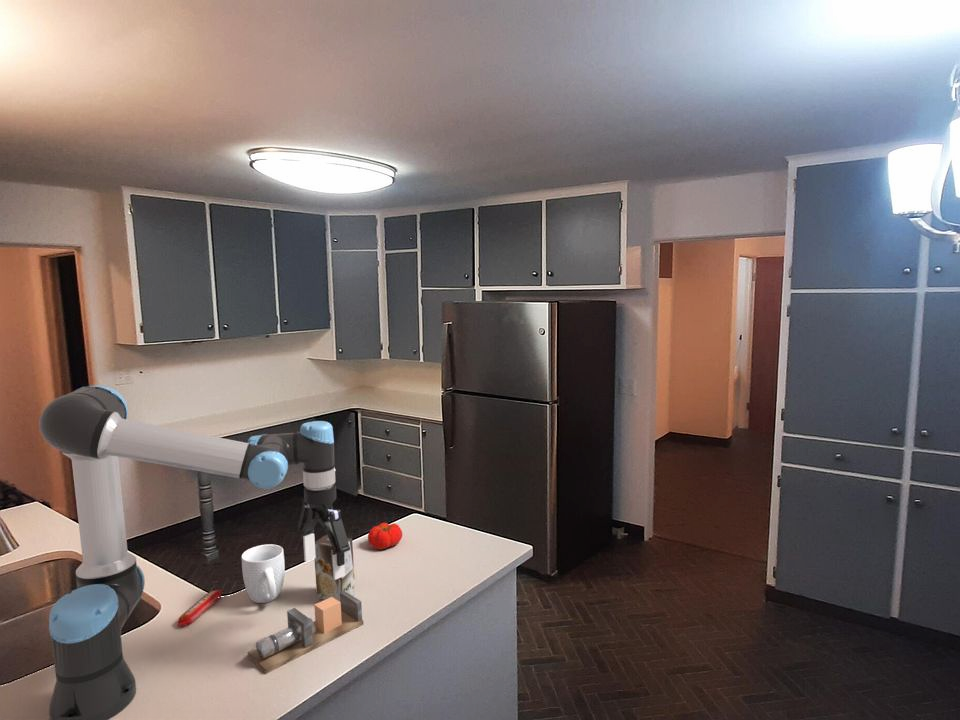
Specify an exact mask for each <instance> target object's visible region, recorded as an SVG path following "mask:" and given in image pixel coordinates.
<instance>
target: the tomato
mask: <svg viewBox="0 0 960 720" xmlns="http://www.w3.org/2000/svg"><path fill="white" fill-rule="evenodd" d="M402 538H403V532H402V528H401V527H400V526H399V524H397V523H391V524H389V523H388V522H382V523H380V524H378V525H376V526H373V527H372V528H371V529H370V531H369V532H368V535H367V541H368V543H369V545H370V546H371V547H372V548H374V549H376V550H384V549H387V548H391V547H394V546H395V545H397V544H398V543H400V541H401V540H402Z"/></svg>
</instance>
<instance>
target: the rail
mask: <svg viewBox="0 0 960 720" xmlns="http://www.w3.org/2000/svg"><path fill="white" fill-rule="evenodd" d="M340 602H341V620H342V625H340V626H338V627H336V628H334V629H332V630H330V631H328V632H326V633H323V632H322V631H320V630H319V629H318V628H316V624H315V620H313V622H314V624H315V629H316V631H315V634H314V635H312V621H311V619H312V618H311V619H309V618H310V617H308V616H307V615H305V614H304V613H303V612H302V611H299V610H298V609H297V608H296V607H293V608H291V609H288V610H286V617H287V628H288V627H290V626H292V625H295V624H297V623H298V624H299V625H300V626H301V637H302V640H301V641H299V642H297V643H295V644H293V645H291V646H289V647H287V648H285V649H283V650H281V651H279V652H277V653H275V654H272V655H270V656H268V657H266V658H264V659H261V658H260V657H259V655H258V653H257V649H256V648H255V649H253V650H251V651H248V652H247V656H248V658H249V659H250V660H251V661H252V662H253V663H254V664H255V665H257V667H259V669H260V670H261V671H263V673H265V674H268V673H270V672H272V671H274V670H276V669H278V668H280V667H282V666H284V665H286V664H288V663H290V662H292V661H294V660H296V659H298V658H300V657H302V656H304V655H307V653H310V652H311V651H312V652H313V650H316V649H318V648H320V647H321V646H323V645H325V644H327V643H329V642H332V641H333V640H335V639H337V638H339V637H341V636H343V635H345V634H348V633H349V632H351V631H353V630H355V629H358V627H361V626H363V625H364V620H363V609H362V600H360V599H358V598H356V597H355V596H354V595H353V596H352V595H350V594H349V593H347V592H345V591H342V592H340Z"/></svg>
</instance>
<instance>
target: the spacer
mask: <svg viewBox="0 0 960 720" xmlns="http://www.w3.org/2000/svg"><path fill="white" fill-rule="evenodd" d="M313 605H314V608H313V609H314V619H315V620H314V621H315V624H316V628H318V629H319V630H320V631H322V632H323V633H326V632H328V631H330V630H332V629H334V628H336V627H338V626H340V625H342V620H341V602H339V601H338V600H336V599H335V598H333V597H330V598H328V599H326V600H324V599H323V600H321V601H319V602H318V603H315V604H313Z"/></svg>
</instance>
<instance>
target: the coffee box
mask: <svg viewBox="0 0 960 720" xmlns="http://www.w3.org/2000/svg"><path fill="white" fill-rule="evenodd" d="M347 539H348V543H349V546H350V550H349V551H346V552H344V557H345V560H344V561H345V576H343V577H341V578H338V579H336V580H335V579H334V577H333V557H332V553H333V552H334V550H333V547H332V545H331V542H330V540H329V538H328V535H327V534H325V535H323V536H321V538H319V539H318V540H317V541H315V556H316V558H315V559H313V560H314V561H313V562H314V570H315V573H314V574H315V585H316V586H315V587H316V599H320V600H323V601H324V600H326V599H328V598H330V597H333V598H335V599H336V600H338V601H339V602H340V592H342V591H345V592H347V593H349V594H350V595H352V596H353V597H354V595H355V594H356V581H355V579H356V578H355V565H354V550H353V539H352V538H349V537H347Z"/></svg>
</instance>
